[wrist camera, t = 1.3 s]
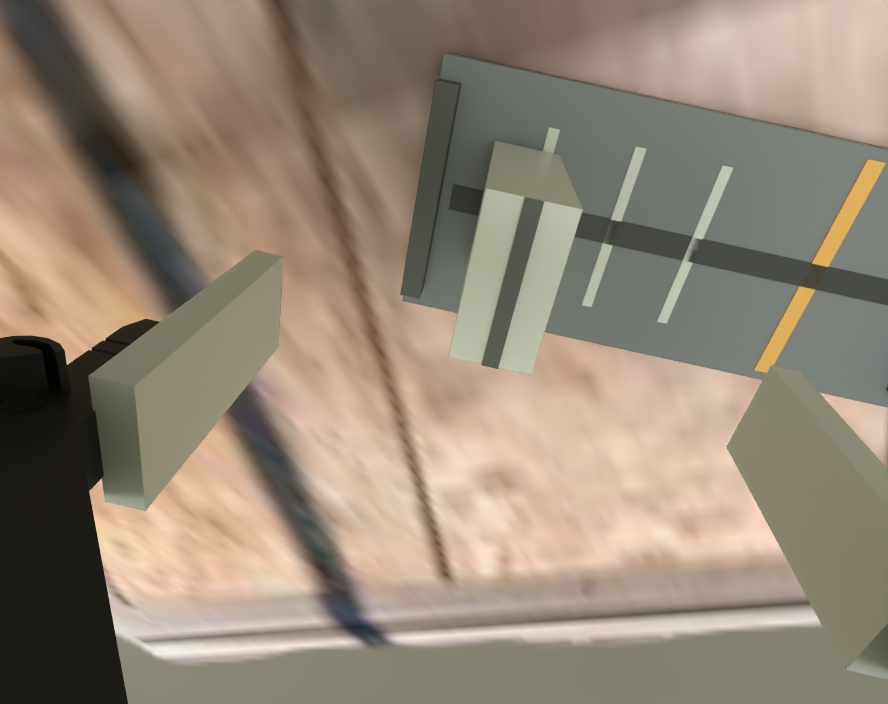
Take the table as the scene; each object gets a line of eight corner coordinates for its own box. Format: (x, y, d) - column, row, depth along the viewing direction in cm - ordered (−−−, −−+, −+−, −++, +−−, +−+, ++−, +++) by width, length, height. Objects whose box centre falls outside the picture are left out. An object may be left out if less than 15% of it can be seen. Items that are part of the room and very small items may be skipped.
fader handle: (495, 140, 26) (486, 189, 17) (559, 154, 26) (583, 210, 17) (467, 263, 29) (448, 357, 20) (525, 276, 29) (531, 376, 20)
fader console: (450, 52, 27) (439, 53, 23) (999, 172, 27) (1081, 194, 23) (411, 280, 33) (397, 312, 29) (863, 379, 33) (910, 424, 29)
